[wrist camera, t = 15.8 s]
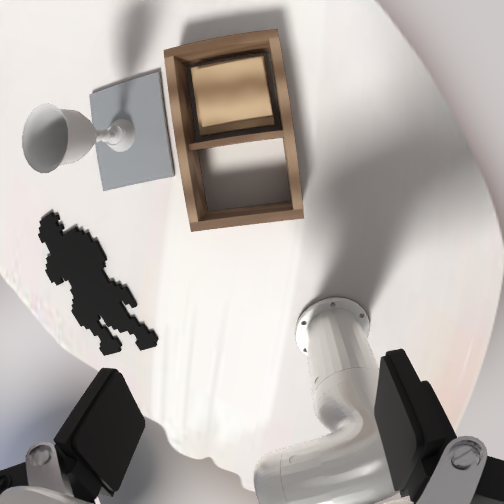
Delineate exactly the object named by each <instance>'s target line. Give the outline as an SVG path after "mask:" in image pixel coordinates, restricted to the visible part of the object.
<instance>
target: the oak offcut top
mask: <svg viewBox="0 0 504 504" xmlns="http://www.w3.org/2000/svg"><path fill="white" fill-rule="evenodd" d="M193 74H194V80H195V87H196V93H197V99H198V105H199V111H200V116H201V122H202V127H205V128H207V127H211V126H216V125H222V124H227V123H232V122H238V121H243V120H249V119H256V118H262V117H269V116H272V110H271V104H270V99H269V93H268V88H267V82H266V77H265V71H264V66H263V61H262V57H258V58H252V59H246V60H240V61H235V62H229V63H224V64H219V65H215V66H210V67H206V68H201V69H197V70H193Z"/></svg>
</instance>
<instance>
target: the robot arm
mask: <svg viewBox="0 0 504 504" xmlns="http://www.w3.org/2000/svg"><path fill="white" fill-rule="evenodd" d="M332 302H333V303H332ZM369 329H370V325H369V319H368V316H367V314H366V312H365V311H364V309H363V308H362V307H361V306H360V305H359V304H358V303H356V302H354V301H352V300H350V299H346V298H339V297H336V298H328V299H324V300H321V301H319V302H316V303H315V304H313V305H311V306H310V307H309V308H308V309H306V310H305V311H304V312H303V314H302V315H301V316H300V318H299V320H298V322H297V325H296V329H295V337H296V342H297V345H298V347H299V349H300V350H301V352H302V353H303V354H304V355H306V356H307V357H308V364H309V372H310V380H311V388H312V396H313V405H314V410H315V414H316V416H317V418H318V420H319V421H320V422H321V424H322V425H323V426H324V427H325V428H327V429H328V430H329V431H330V432H332V433H330V434H328V435H325V436H322V437H321V438H317V439H314V440H311V441H308V442H304V443H301V444H297V445H294V446H290V447H287V448H283V449H279V450H276V451H273V452H270V453H268V454H266V455H265V456H263V457H262V458H261V459H260V460H259V461H258V463H257V464H256V467H255V470H254V487H255V492H256V496H257V499H258V502H259V504H374V503H376V502H379V501H382V500H384V499H387V498H389V497H392V496H393V495H395V494H397V493H399V492H400V494H401V497H405V496H410V500H411V501H409V500H404V499H400V500H393V501H389V502H386V503H382V504H504V461H503V460H500V459H496V458H493V457H489V456H487V450H486V447H485V445H484V444H483V443H482V442H481V441H480V440H479V439H477V438H475V437H471V436H462V437H458V438H457V436H456V434H455V432H454V430H453V428H452V426H451V424H450V422H449V420H448V418H447V416H446V414H445V412H444V410H443V408H442V406H441V404H440V402H439V400H438V398H437V396H436V394H435V392H434V390H433V388H432V387H431V385H430V383H429V382H428V381H422V382H421V381H420V379H419V377H418V376H417V374H416V372H415V370H414V368H413V366H412V364H411V362H410V360H409V358H408V357H407V355H406V353H405V351H404V350H403V349H398V350H392V351H387V352H386V355H385V356H383V357H381V361H380V369H379V367H378V364H377V362H376V360H375V357H374V355H373V352H372V350H371V348H370V345H369V343H368V340H367V337H368V334H369ZM144 428H145V419H144V417H143V415H142V413H141V412H140V410H139V408H138V406H137V404H136V402H135V400H134V398H133V396H132V394H131V392H130V390H129V388H128V386H127V384H126V382H125V379H124V377H123V375H122V374H121V373H119V371H118V370H117V369H112V368H102V369H101V370H100V371H99V372H98V374H97V375H96V377H95V378H94V380H93V381H92V383H91V384H90V385H89V387H88V388H87V390H86V391H85V393H84V394H83V396H82V397H81V399H80V400H79V402H78V403H77V405H76V406H75V408H74V409H73V411H72V412H71V414H70V415H69V417H68V418H67V420H66V421H65V423H64V424H63V426H62V427H61V429H60V430H59V432H58V434H57V435H56V437H55V438H54V442H55V443H56V444H55V446H53V445H52V444H50V443H48V442H39V443H37V444H35V445H33V446H32V447H31V448H30V449H29V450H28V452H27V454H26V462H24V463H21V464H18V465H16V466H13V467H10V468H7V469H4V470H1V471H0V504H100V502H99V499H98V494H99V492H100V493H101V494H103V495H107V496H110V497H113V495H114V492H115V491H117V490H118V489H119V487H120V485H121V483H122V480H123V478H124V475H125V473H126V470H127V468H128V466H129V463H130V461H131V458H132V456H133V454H134V451H135V449H136V446H137V444H138V442H139V439H140V437H141V435H142V432H143V430H144ZM413 502H414V503H413Z"/></svg>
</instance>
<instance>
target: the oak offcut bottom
mask: <svg viewBox="0 0 504 504" xmlns="http://www.w3.org/2000/svg"><path fill="white" fill-rule="evenodd" d="M258 57H262V61H263V66H264V71H265V77H266V82H267V88H268V93H269V99H270V104H271V98H270V91H269V85H268V78H267V72H266V66H265V60H264V55H262V56H254V57H247V58H241V59H234V60H228V61H223V62H217V63H212V64H207V65H202V66H198V67H193V68H191V74H192V81H193V89H194V96H195V103H196V110H197V117H198V124H199V130H200V136H206V135H212V134H217V133H223V132H230V131H236V130H243V129H249V128H257V127H264V126H272V125H274V118H273V111H272V116H269V117H262V118H256V119H249V120H243V121H238V122H232V123H227V124H222V125H216V126H211V127H207V128H205V127H202V122H201V116H200V111H199V105H198V99H197V93H196V87H195V80H194V74H193V70H197V69H201V68H206V67H210V66H215V65H219V64H224V63H229V62H235V61H240V60H246V59H252V58H258ZM271 110H272V104H271Z"/></svg>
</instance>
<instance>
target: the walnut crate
mask: <svg viewBox="0 0 504 504" xmlns="http://www.w3.org/2000/svg"><path fill="white" fill-rule="evenodd" d="M264 52H270V57H271V63H272V69H273V75H274V81H275V88H276V94H277V101H278V107H279V114H280V121H281V128H282V130H279V131H271V132H263V133H255V134H248V135H241V136H234V137H228V138H222V139H216V140H210V141H204V142H199V143H197V142H196V135H195V129H194V122H193V115H192V108H191V101H190V93H189V86H188V78H187V71H186V66H189V65H194V64H198V63H203V62H208V61H213V60H218V59H224V58H230V57H236V56H242V55H249V54H256V53H264ZM164 58H165V67H166V76H167V84H168V92H169V100H170V107H171V114H172V121H173V128H174V135H175V142H176V148H177V154H178V161H179V167H180V173H181V179H182V185H183V190H184V196H185V202H186V207H187V213H188V218H189V223H190V228H191V232H194V231H201V230H209V229H217V228H225V227H233V226H241V225H250V224H258V223H267V222H276V221H284V220H293V219H303V218H304V213H303V203H302V194H301V185H300V176H299V168H298V159H297V151H296V144H295V136H294V129H293V122H292V115H291V108H290V101H289V95H288V88H287V82H286V76H285V70H284V64H283V58H282V52H281V47H280V41H279V36H278V30H277V29H274V30H265V31H256V32H249V33H242V34H236V35H230V36H224V37H218V38H213V39H208V40H203V41H199V42H194V43H190V44H186V45H182V46H178V47H174V48H170V49H166V50H164ZM275 138H283V143H284V150H285V158H286V166H287V174H288V182H289V190H290V199H291V202H282V203H273V204H264V205H256V206H248V207H240V208H232V209H225V210H217V211H210V212H208V210H207V204H206V198H205V192H204V186H203V180H202V174H201V168H200V161H199V155H198V150H201V149H206V148H212V147H218V146H224V145H231V144H237V143H244V142H251V141H259V140H267V139H275Z"/></svg>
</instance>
